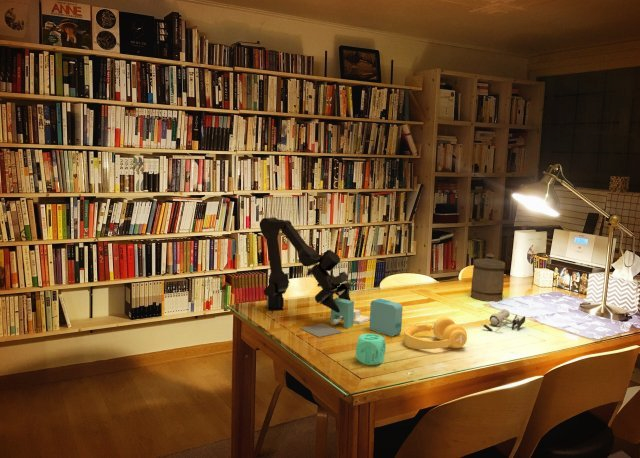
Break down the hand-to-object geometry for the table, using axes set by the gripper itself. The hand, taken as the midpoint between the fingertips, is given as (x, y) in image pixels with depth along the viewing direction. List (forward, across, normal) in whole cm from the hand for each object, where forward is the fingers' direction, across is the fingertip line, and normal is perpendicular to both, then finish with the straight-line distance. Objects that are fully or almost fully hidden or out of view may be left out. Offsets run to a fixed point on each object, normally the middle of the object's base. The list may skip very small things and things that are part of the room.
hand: (345, 309), depth 218 cm
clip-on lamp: (+40, +40, -30) cm, 64 cm away
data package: (+16, +4, -6) cm, 18 cm away
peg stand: (+4, +4, +6) cm, 8 cm away
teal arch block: (+4, 0, +6) cm, 7 cm away
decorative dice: (+24, -26, -14) cm, 38 cm away
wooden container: (+25, +84, -16) cm, 89 cm away
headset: (+30, +3, -21) cm, 37 cm away
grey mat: (+2, -11, +7) cm, 13 cm away
